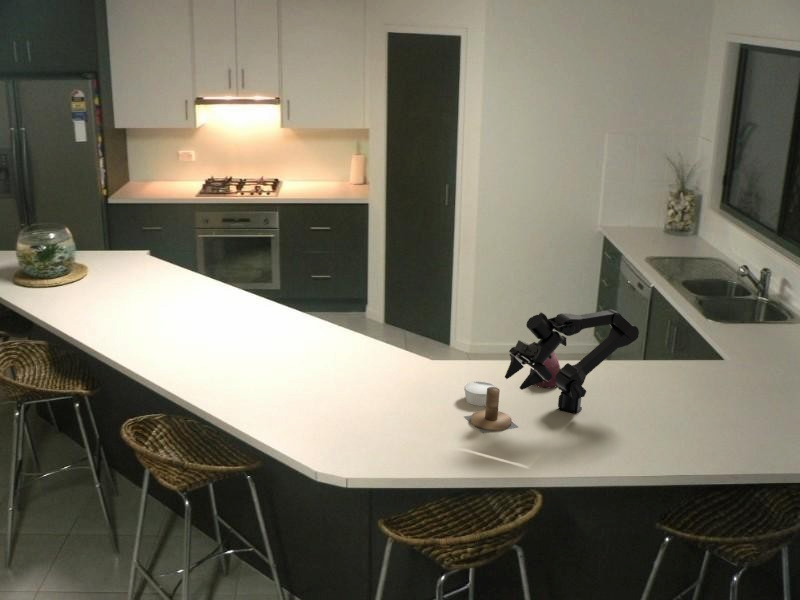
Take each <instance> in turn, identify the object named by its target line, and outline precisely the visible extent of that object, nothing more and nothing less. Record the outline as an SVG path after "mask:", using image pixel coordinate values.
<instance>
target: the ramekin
mask: <svg viewBox="0 0 800 600" xmlns="http://www.w3.org/2000/svg"><path fill="white" fill-rule="evenodd" d="M489 387H496V388H498V387H497V386H496V385H495V384H493V383H491V382H486V381H480V380H478V381H477V380H476V381H470V382H467V383H465V385H464V387H463V388H464V393H465V394H464V395H465V396H464V397H465V401H466V402H467V403H468V404H470V405H473V406H477V407H478V406H480V407H486V396H487V388H489Z"/></svg>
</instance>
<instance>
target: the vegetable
mask: <svg viewBox="0 0 800 600" xmlns="http://www.w3.org/2000/svg"><path fill="white" fill-rule="evenodd" d="M551 356H552V358H551V359H548V358H547V359H546V361H545V362H544V363H543V365H545V366H546V367H547V368H548V369H549V371H550V372H551V373H552V374H553V375H552V378H551V380H550V381H549V382H548V381H546V380H545V382H541V383H538V384H535V385H534V386H536V385H537V386H536V387H538V386H539V387H538V388H541V387H555V386H558V385H557V384H556V382H555V378H556V374H557V373H558V372H559V371H558V370H559V369H561V366H560V363H559V360H558V357H557V355H556V352H555V350H554V351H553V353H552V354H551ZM533 370H535V369H534V368H533ZM555 388H556V387H555Z"/></svg>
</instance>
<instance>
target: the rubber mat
mask: <svg viewBox="0 0 800 600" xmlns="http://www.w3.org/2000/svg"><path fill="white" fill-rule="evenodd" d="M471 415H472V414H471ZM471 415H466V416H463V418H464V419H465V420H467V422H469V423H470V424H471V425H473V424H472V423H471ZM473 426H474V425H473ZM474 427H475V428H476V429H477V430H478V431H479V432H480V433H481V434H487V433H494V432H496V431H490V430H484V429H480V428H478V427H476V426H474ZM518 428H519V425H517V424H516V423H514V422H513V421H512V422H511V426H510V427H509V428H507V429H504V430H503V431H505V430H511V429H518ZM499 431H500V432H501V430H499ZM499 431H498V432H499Z"/></svg>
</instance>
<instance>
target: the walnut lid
mask: <svg viewBox="0 0 800 600" xmlns="http://www.w3.org/2000/svg"><path fill="white" fill-rule="evenodd" d="M496 387H497V386H496ZM496 387H489V388H487V396H486V406H485V409H482V410H478V411H475V412H473V413H472V414H471V423H472V424H473V427H475V426H476V427H478V428H480V429H484V430H490V431H495V432H499V430H500V431H505V430H504V429H506V430H508V429H507V428H509V427H510V426H511V422H513V421H512V417H511V416H510V415H509V414H507V413H505V412H503V411H501V410H499V402H500V390H501V389H500V388H499V387H497V388H496ZM471 423H470V424H471ZM472 424H471V425H472ZM476 427H475V428H476Z"/></svg>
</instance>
